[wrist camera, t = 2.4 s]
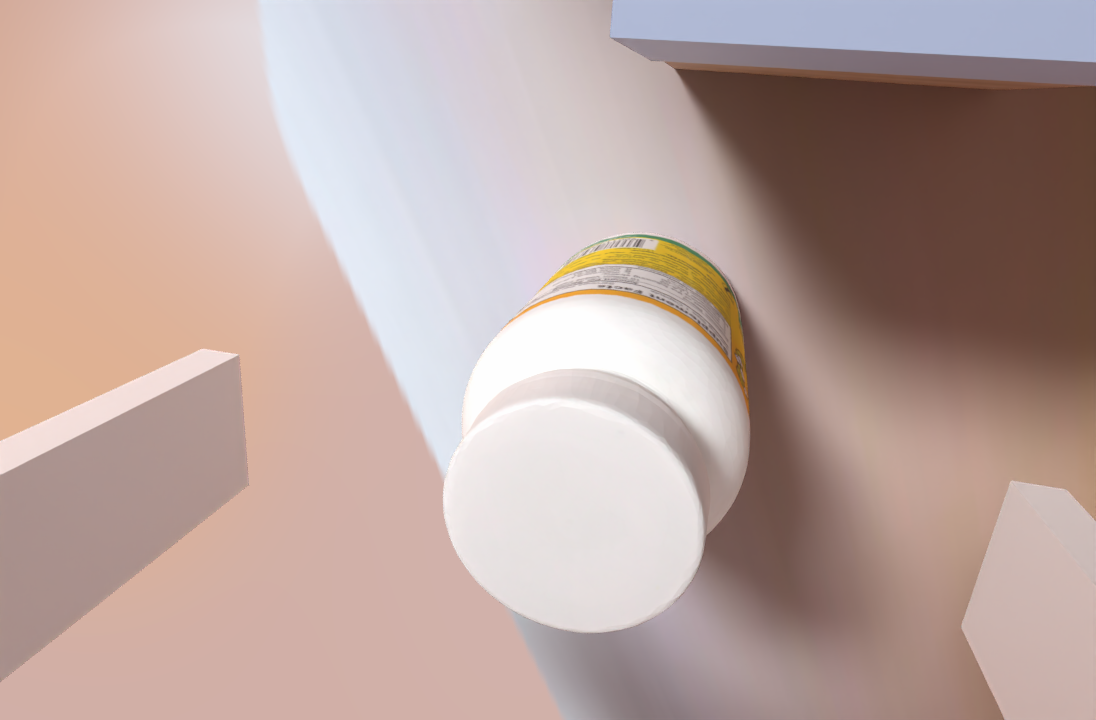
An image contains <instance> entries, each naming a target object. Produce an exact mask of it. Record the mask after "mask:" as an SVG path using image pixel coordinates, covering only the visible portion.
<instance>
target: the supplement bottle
mask: <svg viewBox="0 0 1096 720" xmlns="http://www.w3.org/2000/svg"><path fill="white" fill-rule="evenodd" d="M749 448H750V418H749V398H748V388H747V374H746V364H745V352H744V337H743V328H742V323H741V316H740V311H739V306H738V302H737V299H736V296H735V294H734V291H733V289H732V287H731V285H730V283H729V281H728V280H727V278H726V277H725V275H724V274H723V272H722V271H721V270H720V269H719V268H718V267H717V265H716V264H715V263H714V262H713V261H711V260H710V259H709V258H708V257H707V256H706V255H704V254H703V253H702V252H700V251H699V250H697V249H695V248H694V247H692V246H690V245H689V244H687V243H685V242H683V241H680V240H678V239H675V238H672V237H668V236H664V235H660V234H655V233H644V232H633V233H624V234H618V235H613V236H610V237H606V238H604V239H601V240H599V241H596V242H594V243H592V244H590V245H589V246H587V247H585V248H583V249H582V250H580V251H579V252H578V253H576V254H575V255H574V256H573V257H571V258H570V259H569V260H568V261H567V262H566V263H564V264H563V265H562V266H561V267H560V268H559V269H558V270H557V272H556V273H555V274H554V275H553V276H552V277H551V278H550V280H549V281H548V282H547V283H546V284H545V285H544V286H543V287H542V288H541V289H540V290H539V291H538V293H537V294H536V295H535V296H534V297H533V298H532V299H531V300H530V301H529V302H528V303H527V304H526V305H525V306H524V307H523V308H522V309H521V310H520V311H519V312H518V313H517V314H516V315H515V316H514V317H513V318H512V319H511V320H510V321H509V322H508V324H507V325H506V326H505V327H504V328H503V329H502V330H501V331H500V332H499V333H498V334H497V336H496V337H495V338H494V339H493V340H492V341H491V343H490V344H489V345H488V346H487V348H486V349H485V350H484V352H483V353H482V355H481V357H480V358H479V360H478V361H477V363H476V365H475V367H474V370H473V372H472V374H471V377H470V379H469V382H468V385H467V388H466V392H465V396H464V401H463V408H462V441H461V442H460V444H459V445H458V447H457V449H456V451H455V452H454V454H453V456H452V459H451V461H450V464H449V467H448V470H447V473H446V477H445V481H444V490H443V509H444V517H445V523H446V526H447V529H448V533H449V537H450V539H451V542H452V544H453V546H454V549H455V551H456V553H457V554H458V557H459V558H460V560H461V561H462V563H463V564H464V566H465V567H466V569H467V570H468V572H469V573H470V574H471V575H472V576H473V577H474V579H475V580H476V581H477V582H478V584H479V585H480V586H482V587H483V588H484V589H485V590H486V591H487V592H488V593H489V594H490V595H491V596H492V597H494V598H495V599H497V600H498V601H499V602H500V603H502V604H503V605H504V606H506V607H508V608H509V609H511V610H513V611H514V612H516V613H518V614H520V615H522V616H523V617H525V618H527V619H530V620H533V621H535V622H537V623H539V624H543V625H546V626H549V627H552V628H556V629H560V630H565V631H572V632H577V633H604V632H613V631H618V630H622V629H627V628H631V627H634V626H637V625H640V624H642V623H644V622H646V621H648V620H650V619H652V618H654V617H656V616H657V615H659V614H660V613H662V612H664V611H665V610H666V609H668V608H669V607H670V606H671V605H672V604H673V603H674V602H675V601H677V600H678V599H679V597H680V596H681V595H682V594H683V593H684V592H685V590H686V589H687V588H688V586H689V585H690V583H691V581H692V580H693V578H694V576H695V574H696V573H697V571H698V569H699V567H700V563H701V560H702V557H703V553H704V547H705V541H706V535H707V534H709V533H710V532H711V531H712V530H713V529H714V528H715V527H716V525H717V524H718V523H719V522H720V521H721V520H722V518H723V517H724V516H725V515H726V513H727V512H728V510H729V509H730V507H731V506H732V504H733V502H734V501H735V499H736V497H737V495H738V492H739V490H740V488H741V485H742V482H743V479H744V476H745V473H746V469H747V464H748V458H749Z"/></svg>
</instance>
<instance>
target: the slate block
mask: <svg viewBox="0 0 1096 720" xmlns="http://www.w3.org/2000/svg"><path fill="white" fill-rule="evenodd" d="M610 38H612V39H614V40H615V41H617V42H619V43H621V44H623V45H624V46H626V47H628V48H630V49H631V50H633V51H635V52H637V53H639V54H640V55H642V56H644V57H646V58H648V59H649V60H651V61H665V62H683V63H701V64H718V65H736V66H753V67H771V68H788V69H806V70H823V71H841V72H858V73H876V74H893V75H911V76H928V77H946V78H963V79H981V80H999V81H1016V82H1034V83H1051V84H1069V85H1086V86H1096V0H613V6H612V18H611V29H610Z"/></svg>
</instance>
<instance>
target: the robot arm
mask: <svg viewBox="0 0 1096 720" xmlns="http://www.w3.org/2000/svg"><path fill="white" fill-rule="evenodd" d="M248 485H249V481H248V467H247V454H246V439H245V426H244V412H243V399H242V385H241V372H240V358H239V355H238V354H232V353H226V352H220V351H214V350H208V349H201V350H199V351H196V352H194V353H192V354H190V355H188V356H186V357H183V358H181V359H179V360H177V361H175V362H172V363H170V364H168V365H166V366H164V367H161V368H159V369H157V370H155V371H153V372H150V373H148V374H146V375H144V376H142V377H139V378H137V379H135V380H133V381H131V382H129V383H126V384H124V385H122V386H120V387H118V388H115V389H113V390H111V391H109V392H107V393H105V394H102V395H100V396H98V397H96V398H94V399H91V400H89V401H87V402H85V403H83V404H81V405H78V406H76V407H74V408H72V409H69V410H68V411H65V412H63V413H61V414H59V415H56V416H54V417H52V418H50V419H48V420H45V421H43V422H41V423H39V424H37V425H34V426H32V427H30V428H28V429H26V430H24V431H21V432H19V433H17V434H15V435H13V436H10V437H8V438H6V439H4V440H2V441H0V682H1V681H2V680H4V679H5V678H6V677H7V676H9V675H10V674H11V673H12V672H14V671H15V670H16V669H17V668H19V667H20V666H21V665H23V664H24V663H25V662H26V661H28V660H29V659H30V658H31V657H32V656H34V655H35V654H36V653H38V652H39V651H40V650H41V649H43V648H44V647H45V646H46V645H48V644H49V643H50V642H52V641H53V640H54V639H55V638H57V637H58V636H59V635H60V634H62V633H63V632H64V631H65V630H67V629H68V628H69V627H70V626H72V625H73V624H74V623H75V622H77V621H78V620H79V619H81V618H82V617H83V616H84V615H86V614H87V613H88V612H89V611H91V610H92V609H93V608H94V607H96V606H97V605H98V604H99V603H100V602H102V601H103V600H104V599H106V598H107V597H108V596H110V595H111V594H112V593H113V592H114V591H116V590H117V589H118V588H119V587H121V586H122V585H123V584H125V583H126V582H127V581H128V580H130V579H131V578H132V577H134V576H135V575H136V574H137V573H139V572H140V571H141V570H142V569H144V568H145V567H146V566H147V565H148V564H150V563H151V562H152V561H154V560H155V559H156V558H158V557H159V556H160V555H161V554H162V553H164V552H165V551H166V550H168V549H169V548H170V547H171V546H173V545H174V544H175V543H176V542H178V541H179V540H180V539H181V538H183V537H184V536H185V535H187V534H188V533H189V532H190V531H192V530H193V529H194V528H195V527H197V526H198V525H199V524H200V523H202V522H203V521H204V520H205V519H207V518H208V517H209V516H210V515H212V514H213V513H214V512H216V511H217V510H218V509H219V508H221V507H222V506H223V505H224V504H226V503H227V502H228V501H229V500H230V499H232V498H233V497H234V496H236V495H237V494H238V493H239V492H241V491H242V490H243V489H245V487H247V486H248ZM961 628H962V630H963V633H964V635H965V637H966V639H967V641H968V643H969V645H970V647H971V649H972V652H973V654H974V656H975V658H976V660H977V662H978V664H979V666H980V668H981V671H982V673H983V675H984V677H985V679H986V681H987V683H988V685H989V687H990V690H991V692H992V694H993V696H994V698H995V700H996V702H997V704H998V706H999V709H1000V711H1001V713H1002V715H1003V717H1004V719H1005V720H1096V521H1095V520H1094V519H1093V518H1092V517H1091V516H1090V514H1089V513H1088V512H1087V511H1086V510H1085V509H1084V508H1083V507H1082V506H1081V505H1080V504H1079V503H1078V502H1077V500H1076V499H1075V498H1074V497H1073V496H1072V495H1071V494H1070V493H1069V492H1068V491H1067V490H1066V489H1061V488H1054V487H1048V486H1042V485H1036V484H1030V483H1024V482H1018V481H1010V484H1009V487H1008V490H1007V493H1006V496H1005V499H1004V502H1003V505H1002V508H1001V511H1000V513H999V516H998V519H997V522H996V525H995V528H994V531H993V534H992V537H991V540H990V543H989V546H988V549H987V552H986V555H985V558H984V560H983V563H982V566H981V569H980V572H979V575H978V578H977V581H976V584H975V587H974V590H973V593H972V596H971V599H970V602H969V604H968V607H967V610H966V613H965V616H964V619H963V622H962V625H961Z"/></svg>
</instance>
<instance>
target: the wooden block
mask: <svg viewBox="0 0 1096 720" xmlns="http://www.w3.org/2000/svg"><path fill="white" fill-rule="evenodd" d="M664 62H665V61H664ZM665 63H667V64H668V65H670V66H671V67H673V68H674V69H688V70H703V71H718V72H733V73H748V74H763V75H778V76H793V77H808V78H823V79H838V80H853V81H868V82H883V83H898V84H914V85H929V86H944V87H959V88H974V89H989V90H1010V89H1034V88H1058V87H1082V86H1086V85H1069V84H1051V83H1034V82H1016V81H999V80H981V79H963V78H946V77H928V76H911V75H893V74H876V73H858V72H841V71H823V70H806V69H788V68H771V67H753V66H736V65H718V64H701V63H683V62H665Z"/></svg>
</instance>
